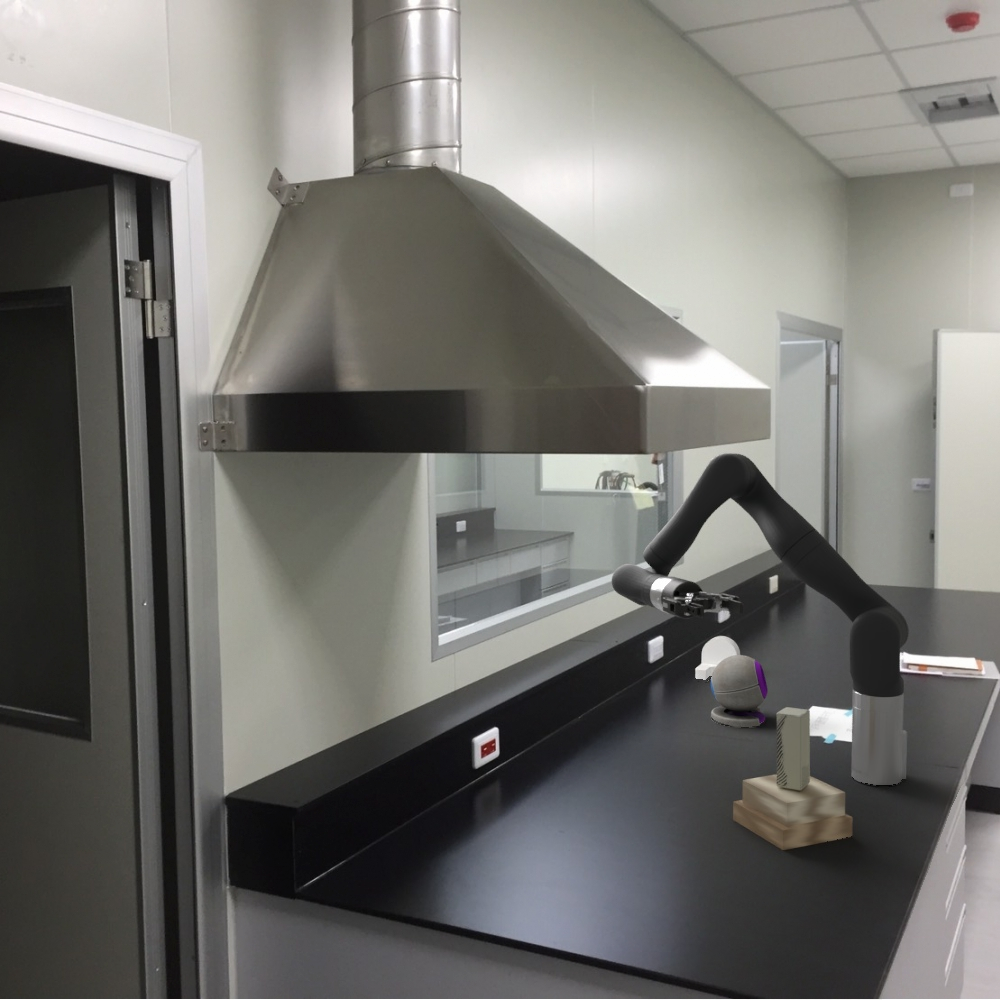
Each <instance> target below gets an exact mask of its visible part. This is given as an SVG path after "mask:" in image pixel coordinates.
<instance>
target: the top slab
mask: <svg viewBox="0 0 1000 1000" xmlns="http://www.w3.org/2000/svg"><path fill="white" fill-rule="evenodd" d="M741 800H742V803H744V804H746V805H748V806H750V807H751V808H753V809H755V810H757V811H759V812H760V813H762V814H764V815H766V816H768V817H770V818H771V819H773V820H775V821H777V822H779V823H780V824H782V825H784V826H786V827H789V826H794V825H799V824H804V823H809V822H814V821H819V820H824V819H829V818H834V817H840V816H845V814H846V791H844V790H841V789H840V788H837V787H835V786H833V785H831V784H828V783H827V782H825V781H822V780H820V779H817V778H816V777H813V775H812V776H811V775H810V783H809V784H808V785H807V786H805V787H804V788H803V789H802V790H793V789H788V788H783V787H778V786H777V773H776V774H770V775H769V774H768V775H764V776H758V777H754V778H747V779H743V780H742V799H741Z"/></svg>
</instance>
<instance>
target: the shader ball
mask: <svg viewBox="0 0 1000 1000" xmlns="http://www.w3.org/2000/svg"><path fill="white" fill-rule="evenodd" d="M710 689H711V692H712V694H713V697H714V698H715V700H716V701H717V702H718V703H719V704H720V705H719V706H717V707H713V709H712V710H711V712H710V718H711V717H712V718H713V719H714V720H716V721H718V722H721V723H724V724H728V725H733V726H741V727H749V728H753V727H752V726H757V725H759V723H761V722H763V721H764V720H765V721H766V715H765V714H764V713H762V712H761V711H762V709H761V708H760V707H759V706H760V705H762V703H763V702H764V701H765V700H766V698H767V696H768V685H767V680H766V677H765V673H764V670H763V666H762V665H761V663H760V662H759V661H758V660H756V659H755V658H753V657H750V656H748V655H743V654H740V655H734V656H730V657H727V658H725V659H724V660H722V661H721V662H720V663H719V664H718V665H717V666H716V667H715V669H714V671H713V673H712V677H711V679H710ZM750 726H751V727H750ZM759 726H760V725H759ZM741 727H740V728H741Z"/></svg>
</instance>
